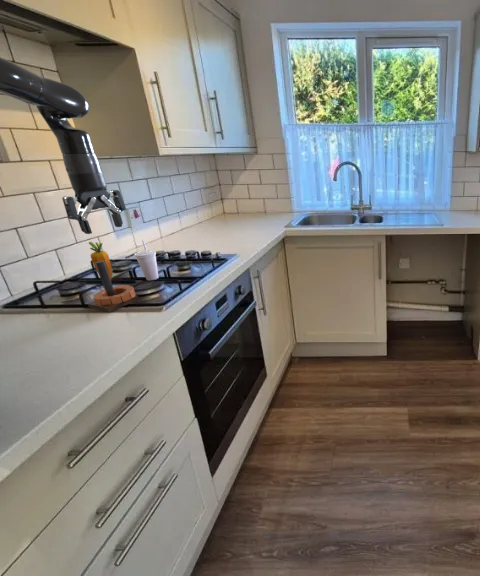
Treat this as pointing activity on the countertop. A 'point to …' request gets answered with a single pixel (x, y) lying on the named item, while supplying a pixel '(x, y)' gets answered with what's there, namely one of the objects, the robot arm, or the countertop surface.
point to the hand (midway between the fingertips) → (104, 230)
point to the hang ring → (121, 295)
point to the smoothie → (147, 263)
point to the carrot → (100, 257)
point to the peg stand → (108, 291)
